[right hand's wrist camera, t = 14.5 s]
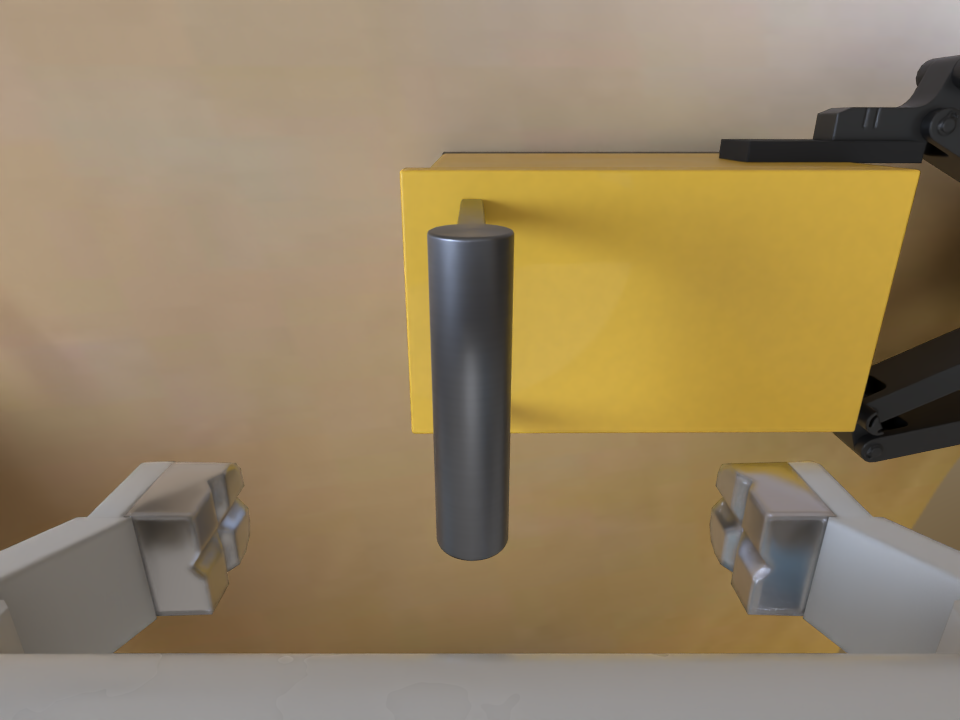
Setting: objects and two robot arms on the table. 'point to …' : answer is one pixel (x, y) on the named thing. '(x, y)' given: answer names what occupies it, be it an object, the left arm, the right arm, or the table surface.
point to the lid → (635, 309)
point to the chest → (616, 160)
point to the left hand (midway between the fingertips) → (715, 276)
